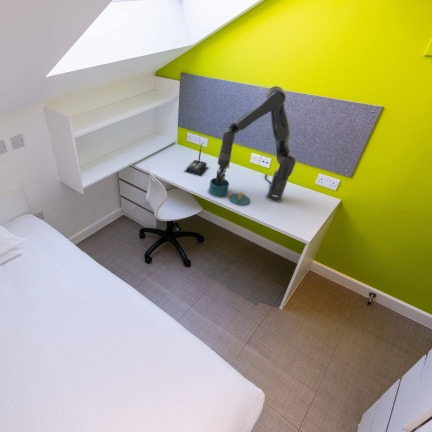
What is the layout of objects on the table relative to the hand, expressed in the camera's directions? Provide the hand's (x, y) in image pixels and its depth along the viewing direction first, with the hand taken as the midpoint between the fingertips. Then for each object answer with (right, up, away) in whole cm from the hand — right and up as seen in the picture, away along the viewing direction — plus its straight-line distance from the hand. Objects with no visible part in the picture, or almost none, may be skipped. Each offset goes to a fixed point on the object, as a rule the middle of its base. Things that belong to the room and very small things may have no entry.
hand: (220, 180), depth 202 cm
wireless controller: (-9, +13, +35) cm, 38 cm away
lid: (+13, -13, -2) cm, 19 cm away
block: (0, 0, 0) cm, 0 cm away
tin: (0, -8, +6) cm, 10 cm away
